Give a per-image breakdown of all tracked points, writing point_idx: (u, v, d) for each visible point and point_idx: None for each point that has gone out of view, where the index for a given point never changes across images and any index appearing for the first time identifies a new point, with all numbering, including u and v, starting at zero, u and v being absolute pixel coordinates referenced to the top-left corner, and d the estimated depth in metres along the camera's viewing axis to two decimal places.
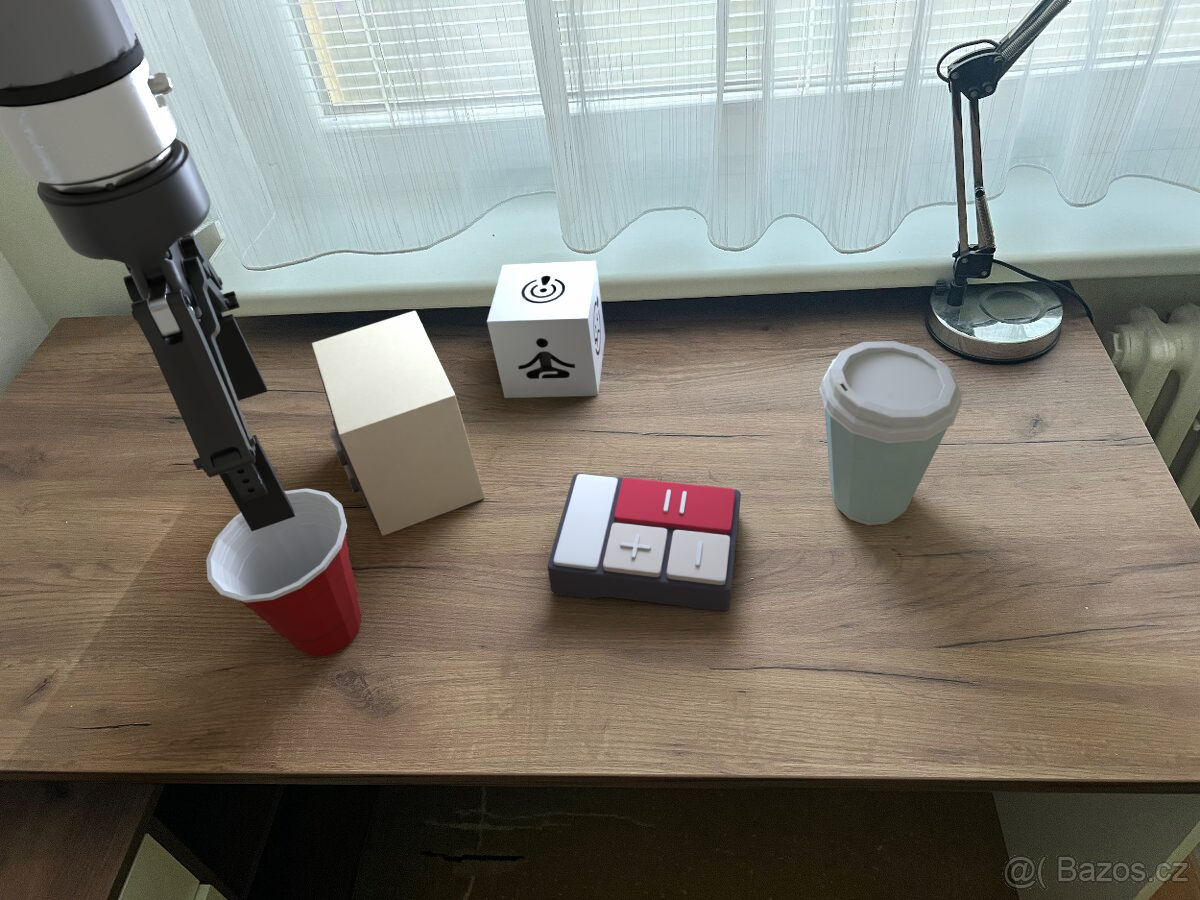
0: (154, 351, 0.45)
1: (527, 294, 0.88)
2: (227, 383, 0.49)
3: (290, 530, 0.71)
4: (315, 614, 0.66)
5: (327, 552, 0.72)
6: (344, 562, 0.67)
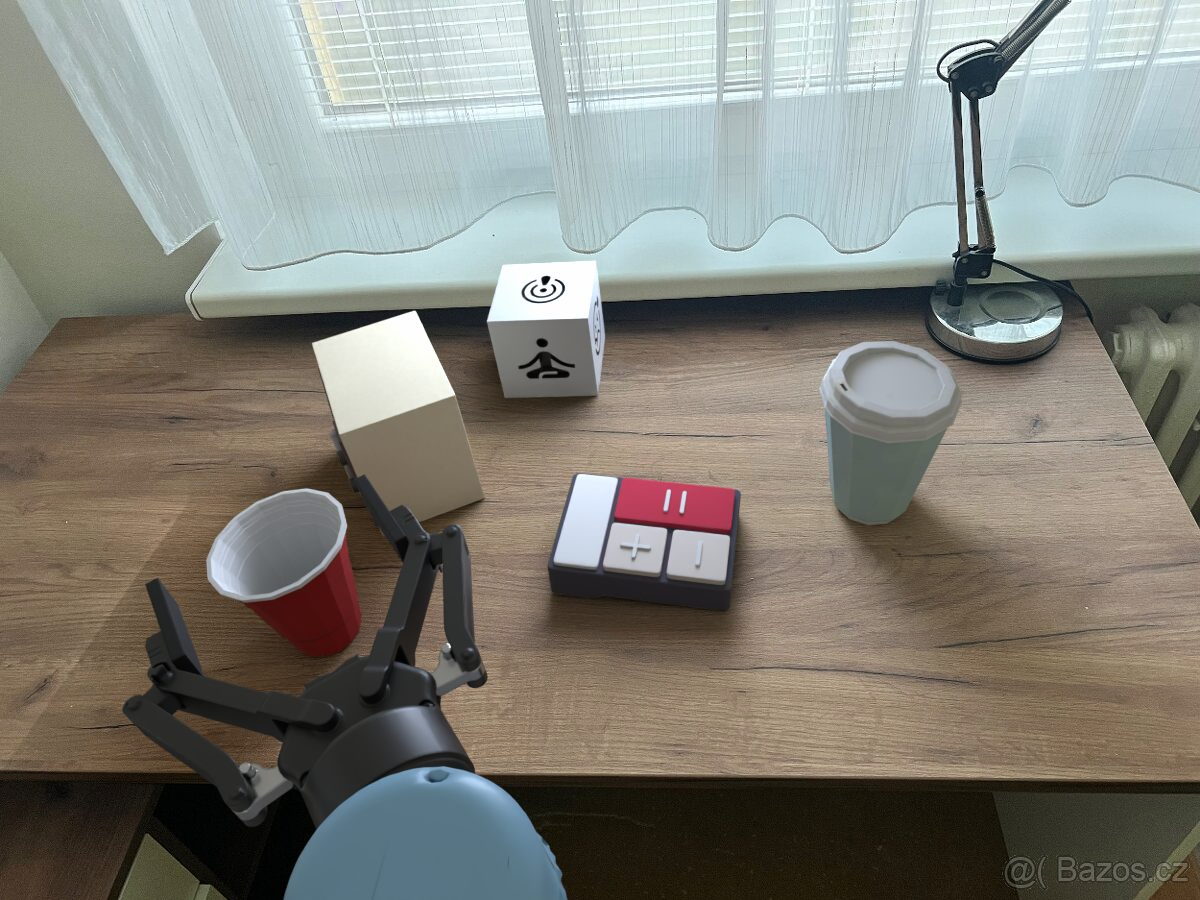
0: (209, 775, 0.42)
1: (527, 294, 0.88)
2: (229, 723, 0.47)
3: (290, 530, 0.71)
4: (315, 614, 0.66)
5: (327, 552, 0.72)
6: (344, 562, 0.67)
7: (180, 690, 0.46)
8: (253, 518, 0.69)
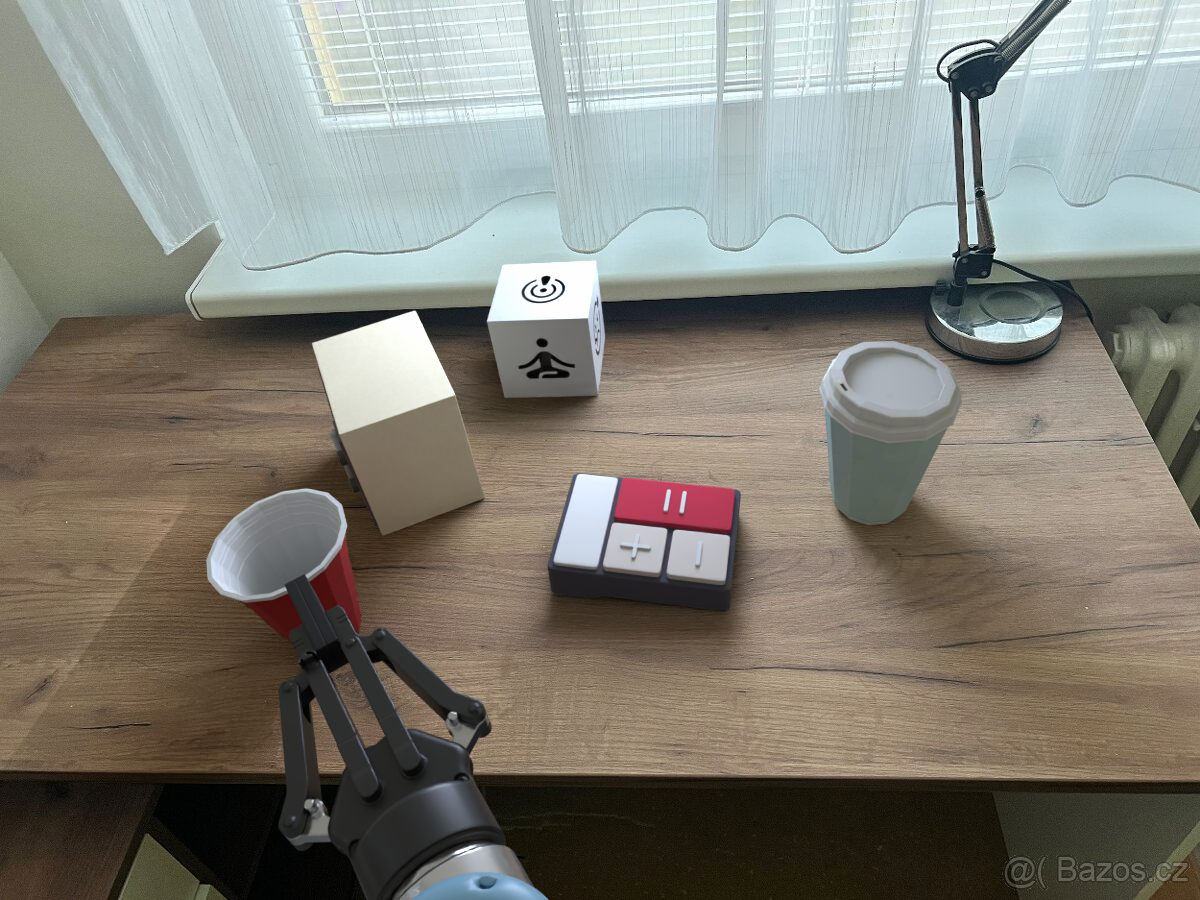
0: None
1: (527, 294, 0.88)
2: None
3: (290, 530, 0.71)
4: None
5: (327, 552, 0.72)
6: (344, 562, 0.67)
7: (312, 683, 0.54)
8: (253, 518, 0.69)
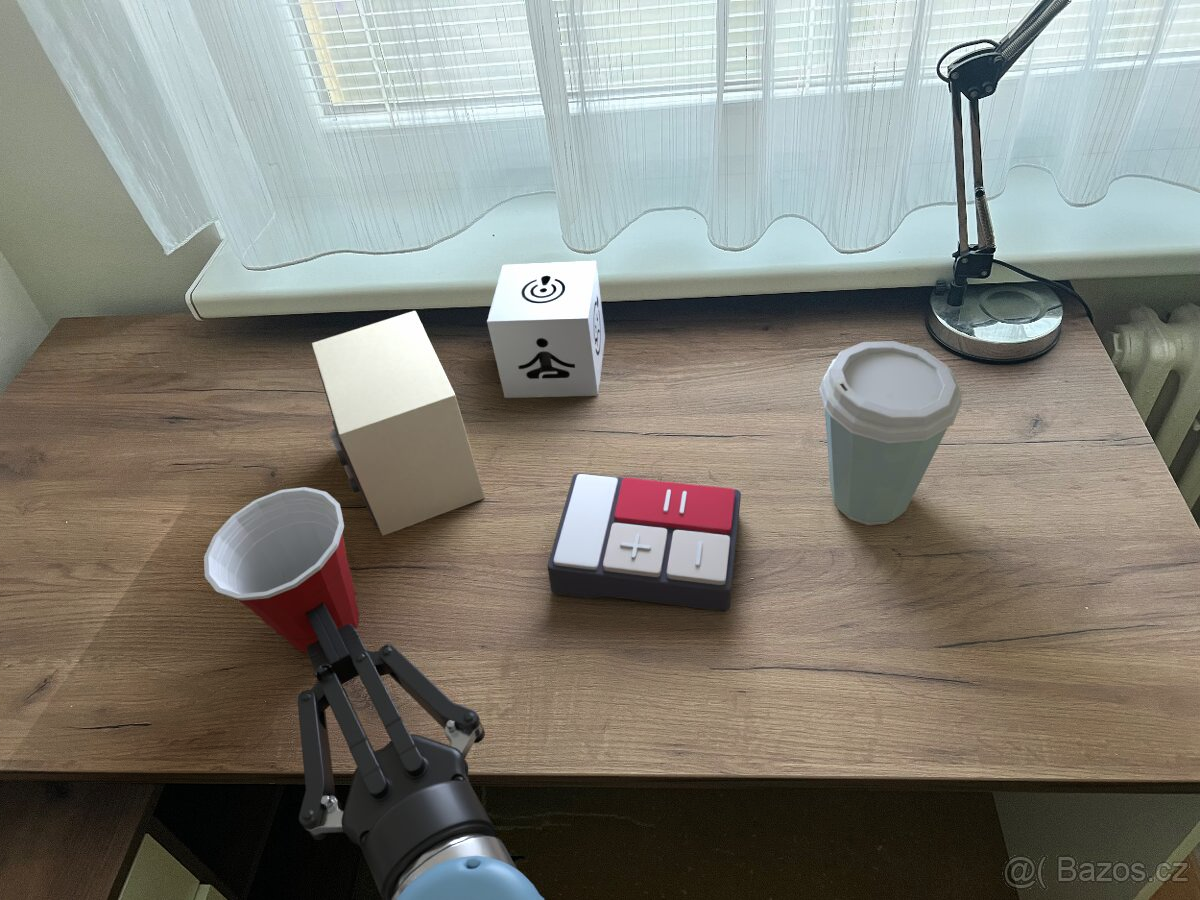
0: None
1: (527, 294, 0.88)
2: None
3: (289, 528, 0.71)
4: None
5: (326, 551, 0.72)
6: (341, 561, 0.67)
7: (327, 693, 0.61)
8: (252, 516, 0.69)
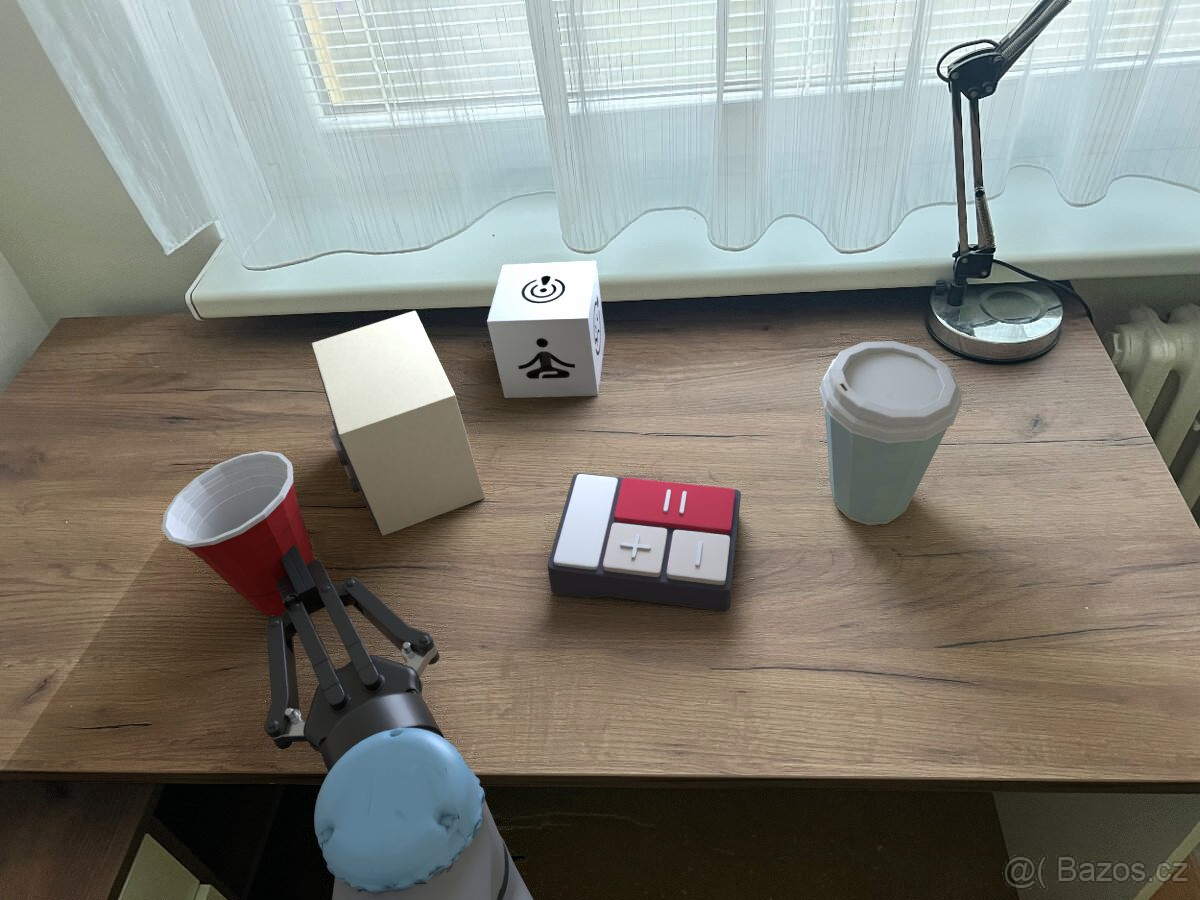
0: (271, 701, 0.61)
1: (527, 294, 0.88)
2: None
3: (250, 493, 0.75)
4: (262, 566, 0.69)
5: None
6: (291, 517, 0.70)
7: (293, 620, 0.66)
8: (214, 479, 0.73)
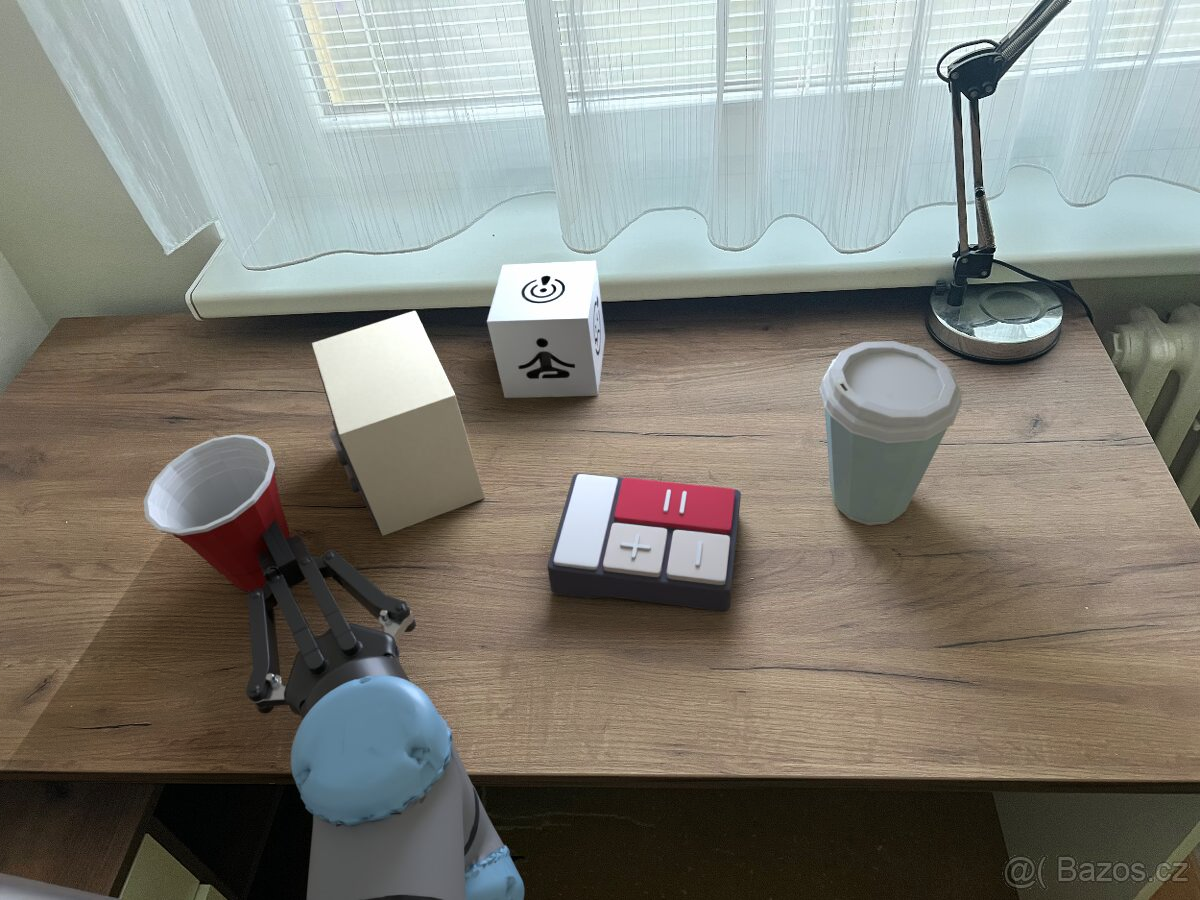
0: None
1: (527, 294, 0.88)
2: None
3: (223, 475, 0.76)
4: (249, 547, 0.72)
5: None
6: (274, 498, 0.72)
7: (274, 591, 0.68)
8: (187, 464, 0.74)
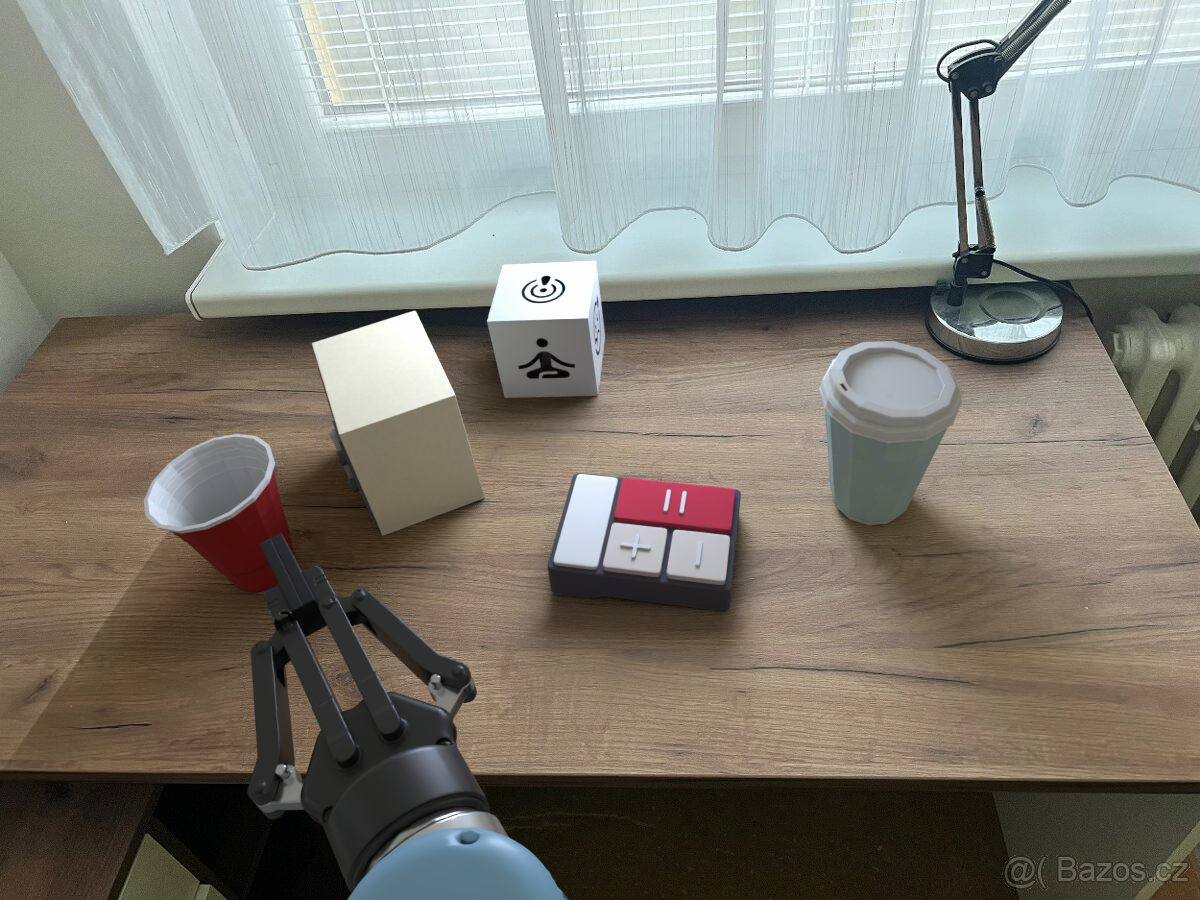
0: (257, 754, 0.46)
1: (527, 294, 0.88)
2: None
3: (223, 474, 0.76)
4: (249, 546, 0.72)
5: None
6: (274, 497, 0.73)
7: (286, 645, 0.51)
8: (187, 463, 0.75)
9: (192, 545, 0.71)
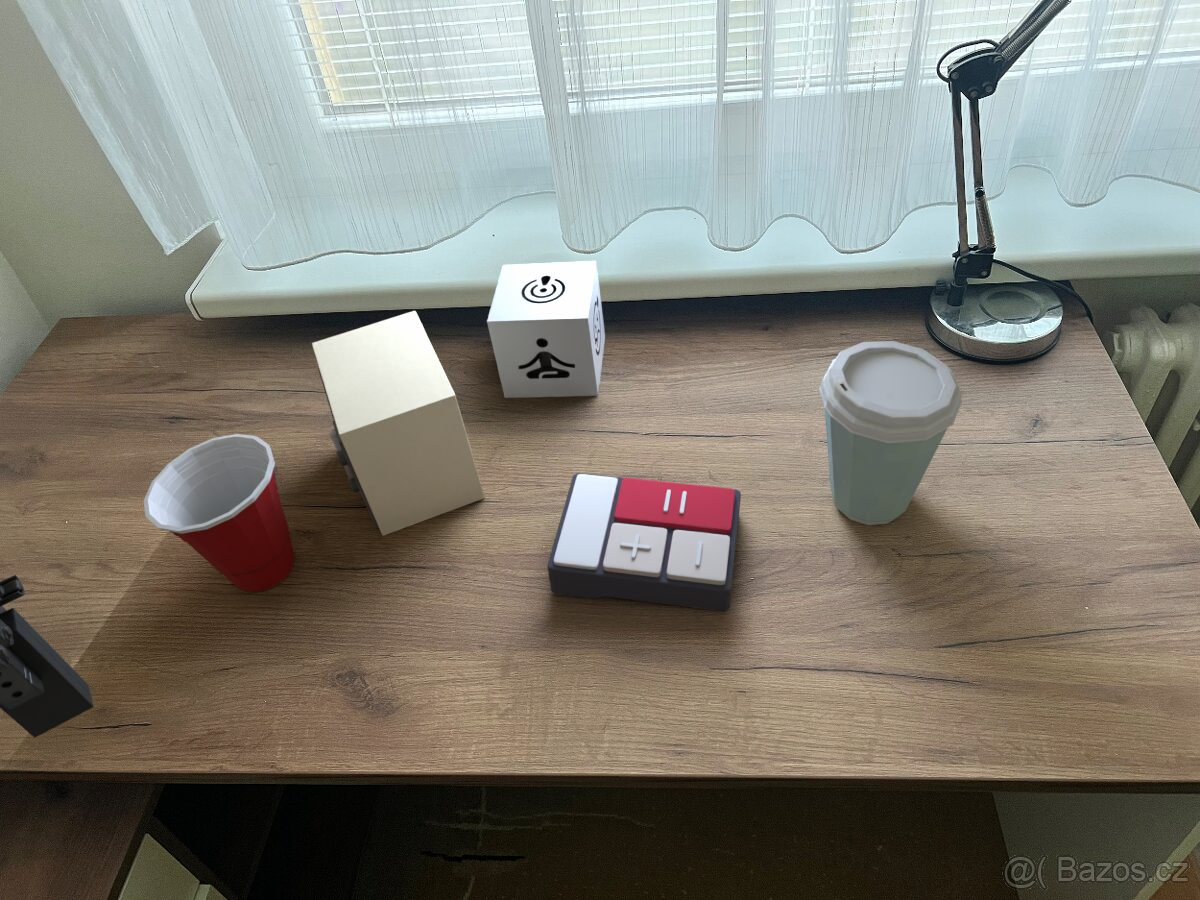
0: None
1: (527, 294, 0.88)
2: None
3: (223, 474, 0.76)
4: (249, 546, 0.72)
5: None
6: (274, 497, 0.73)
7: None
8: (187, 463, 0.75)
9: (192, 545, 0.71)
